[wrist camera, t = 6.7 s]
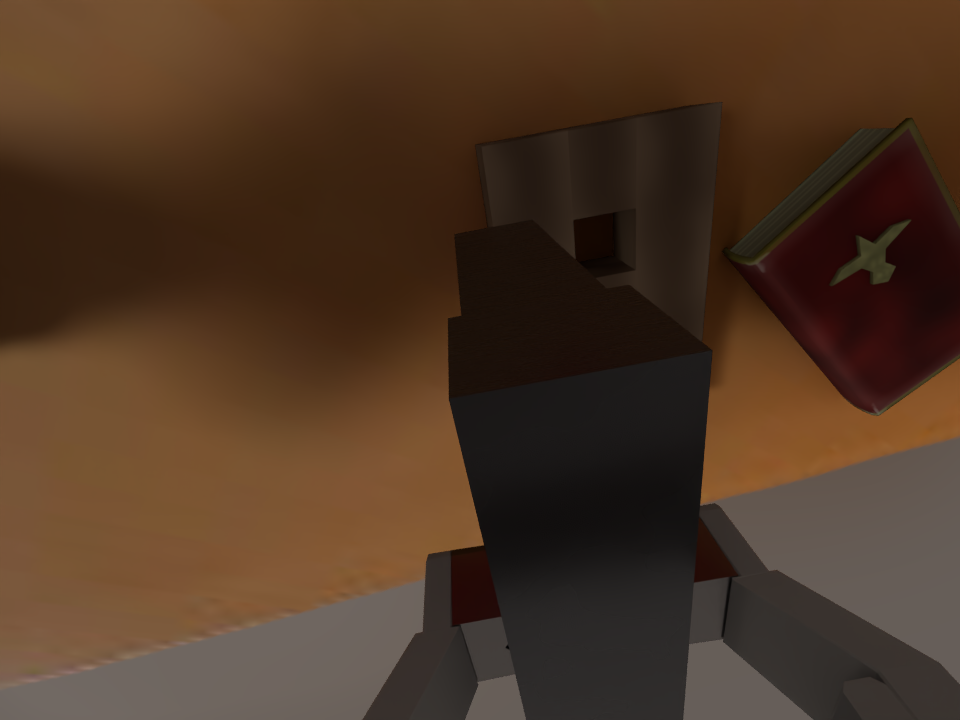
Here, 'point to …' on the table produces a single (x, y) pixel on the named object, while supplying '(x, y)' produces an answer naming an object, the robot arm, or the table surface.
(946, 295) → the hardcover book
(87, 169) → the table surface
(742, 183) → the table surface
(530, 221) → the grey u-shaped block
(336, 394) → the table surface
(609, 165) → the wooden board with holes
